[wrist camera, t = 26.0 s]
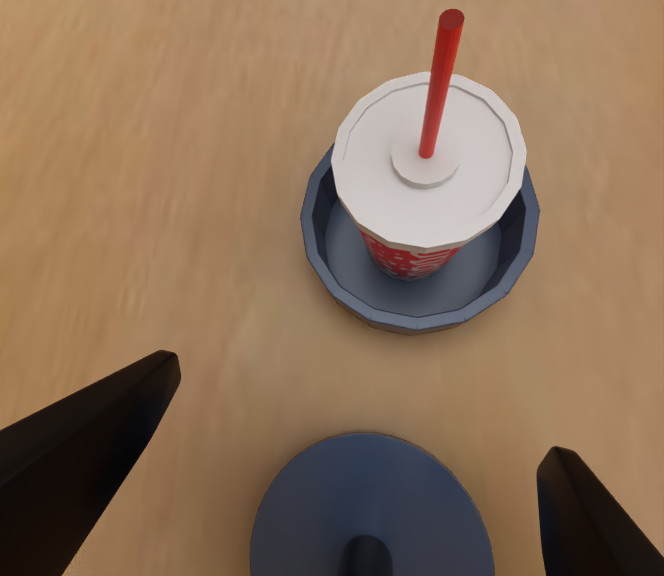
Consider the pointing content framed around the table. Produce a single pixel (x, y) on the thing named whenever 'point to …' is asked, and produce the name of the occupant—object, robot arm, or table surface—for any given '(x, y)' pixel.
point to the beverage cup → (427, 163)
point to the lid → (368, 514)
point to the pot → (425, 294)
